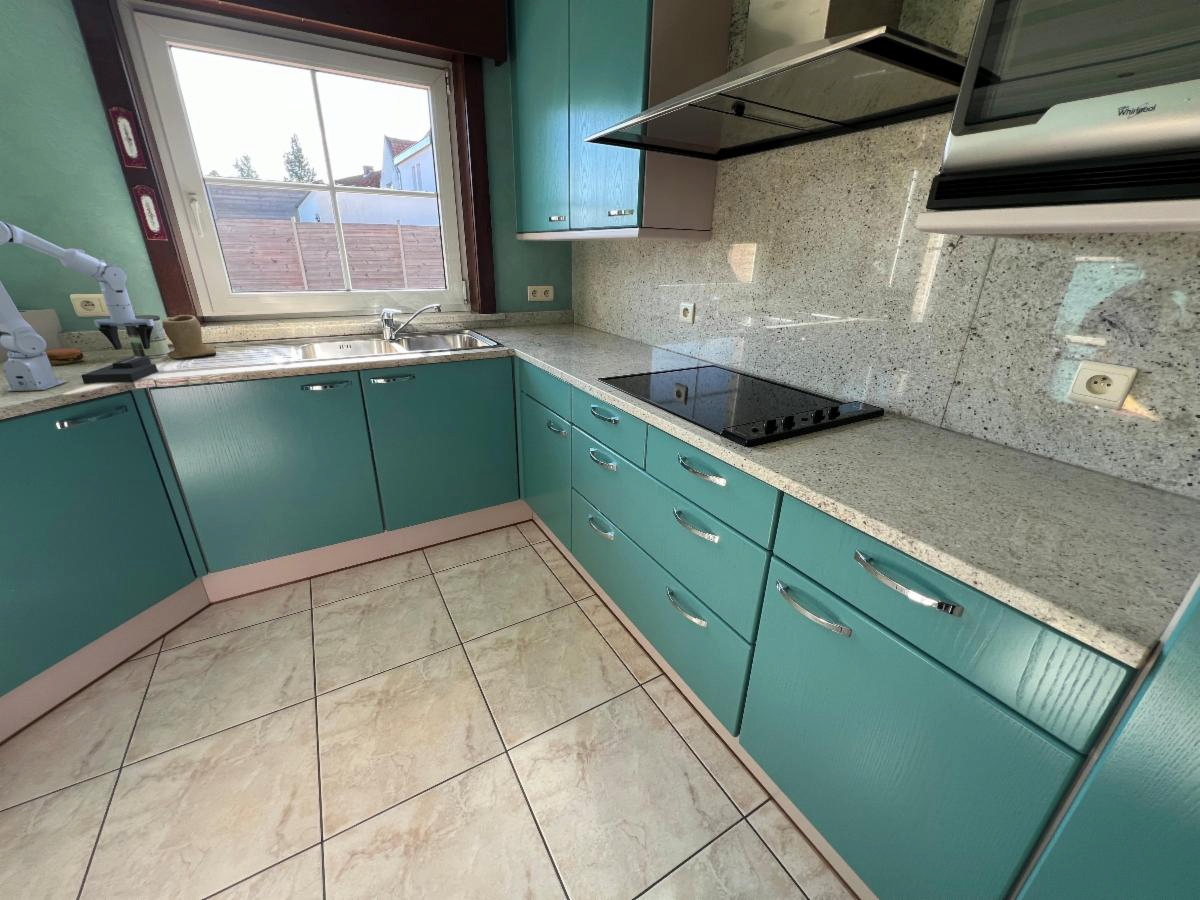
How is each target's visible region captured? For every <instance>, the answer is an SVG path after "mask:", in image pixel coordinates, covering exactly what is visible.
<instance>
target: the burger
mask: <svg viewBox="0 0 1200 900" xmlns="http://www.w3.org/2000/svg"><path fill="white" fill-rule="evenodd" d="M45 352H46V354H47V357H48V359H49V362H50V364H51V366H63V365H69V364H76V363H79V362H81V361H84V358H86V356H84V354H83V352H82V351H81V350H80V349H78V348H75V347H72V348H55V349H50V350H47V351H46V350H45Z"/></svg>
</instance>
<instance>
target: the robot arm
mask: <svg viewBox="0 0 1200 900" xmlns="http://www.w3.org/2000/svg"><path fill="white" fill-rule="evenodd" d="M4 244H17V245H18V244H19V245H22V246H24V247H27V248H28V249H29V248H30V249H32V250H35V251H36V252H40V253H42V254H45V255H47V256H50V257H53V258H55V259H58V260H59V261H60V263H61V264H62V266H64V267H65V268H68V269H70V270H72V271H75V272H78V273H80V274H81V275H85V276H87V277H90V278H93V280H94V281H96V282H97V283H98V284H99V287H100V290H101V293H102V296H103V300H104V302H105V305H106V308H107V311H108V314H109V318H104V319H102V318H101V319H100V318H99V319H93V323H94V325H95V327H98V331H99V332H100V333H101V334H103V336H104V337H105V338H107V340H108V341H109V342H110V343H111V345H112V347H113V348H114V350H121V349H123V347H122V343H121V340H120V337H119V330H118V328H119V327H125V326H139V327H135V329H136V331H137V332H138V334H139V336H140V338H141V341H142V345H143V347H144V349H149V348H150V337H151V333H152V330H153V325H154V322H153V319H136V318H135V316H136V315H135V312H134V309H133V306H132V302H131V299H130V296H129V292H128V289H127V286H126V282H127V280H128V275H127V274H126V273H125V271H124V270H122V268H121V267H119V266H117V265H114V264H107V263H106V260H105V259H102V258H99V259H98V258H96V257H94V256H92V255H89V254H87V253H86V251H85V250H83V249H81V248H76V249H75V248H74V247H73V248H66V249H65V248H63V247H61V246H59V245H57V244H54V243H52V242H50V241H48V240H46V239H44V238H42V237H40V236H38V235H35V234H33V233H31V232H29V231H27V230H25V229H23V228H20V227H18V226H17V225H13V224H11V223H8V222H3V221H1V220H0V246H2V245H4ZM124 323H131V324H124ZM0 347H1V348H2V349H3V350H5V351H7V357H8V359H7V360H6V361H4V362H3V364H2V372H3V374H4V376H5V378H6V381H7V383H8V386H9V388H8V389H7V392H25V391H26V392H27V391H28V392H29V391H44V390H47V389H50V388H53V387H56V386H59V385H62V384H65V383H67V380H57V376H56V374H55V372H54V369H53V367H52V365H51V364H50V362H49V359H48V357H47V354H46V350H47V342H46V340H45V339H44V337H42V336H41V335H40V334H38V333H37V332H36V331H35V330H34V327H33V326H32V325H31V324H29V323H28V322H27V321H26V320H25V319H24V318H23V316H22V315H21V313H20V311H19V310H18V308H17V306H16V305H15V302H14V301H13V299H12V298H11V296H10V294H9V293H8V291H7V290H6V288H5V286H4V285H3V282H2V281H1V280H0Z"/></svg>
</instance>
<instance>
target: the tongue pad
mask: <svg viewBox="0 0 1200 900" xmlns="http://www.w3.org/2000/svg"><path fill="white" fill-rule="evenodd" d="M145 364H152V362H151V358H149V357H135V356H130V357H127V358H124V359H121V360H118V361H116V362H113V363H111V365H113V368H114V369H124V368H136V367H139V366H142V365H145Z"/></svg>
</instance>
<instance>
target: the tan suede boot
mask: <svg viewBox="0 0 1200 900" xmlns="http://www.w3.org/2000/svg"><path fill="white" fill-rule="evenodd" d="M161 324H162V328H163V331H164V334H165V336H166V338H168V340H169V341H170V342H171V344H172V345H173V348H174V349H173V350H171V351H170V352H169V353H168V354H167V355H168V356H167V357H169V358H172V359H186V358H187V359H188V358H196V357H206V356H213V355H216V354H217V347H216V345H215V344H205V343H203V338H202V337H203V336H202V335H203V334H202V325H201V323H200V321H199V320H198V318H197V317H196V316H194V315H191V314H179V315H175V316H173V317H172V316H170V317H169V316H167V317H166V318H164V319H163V320H162V321H161Z"/></svg>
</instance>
